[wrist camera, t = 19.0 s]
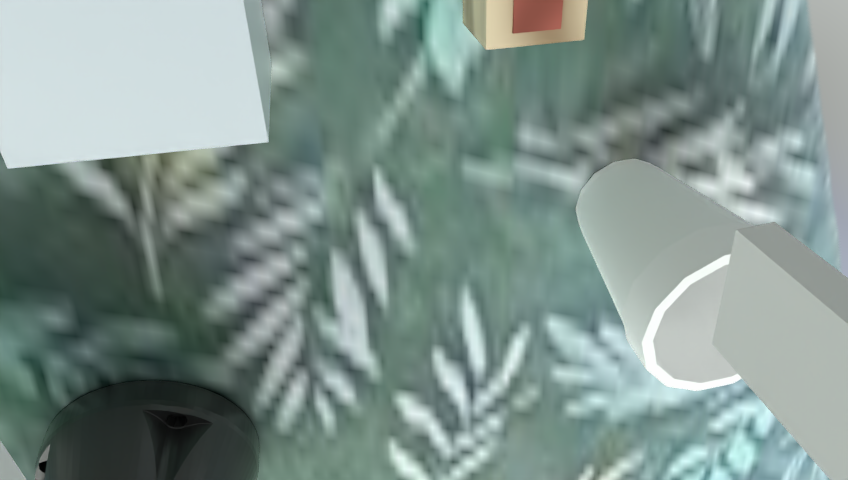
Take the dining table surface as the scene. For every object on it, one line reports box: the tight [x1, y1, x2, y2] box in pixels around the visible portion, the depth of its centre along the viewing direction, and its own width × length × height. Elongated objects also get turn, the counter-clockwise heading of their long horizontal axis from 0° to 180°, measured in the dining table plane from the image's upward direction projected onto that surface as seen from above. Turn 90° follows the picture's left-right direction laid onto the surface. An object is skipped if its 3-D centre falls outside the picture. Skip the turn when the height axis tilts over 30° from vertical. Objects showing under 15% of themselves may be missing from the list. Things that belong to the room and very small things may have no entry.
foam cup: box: [576, 158, 754, 391], centre depth 39 cm, size 10×9×13 cm
